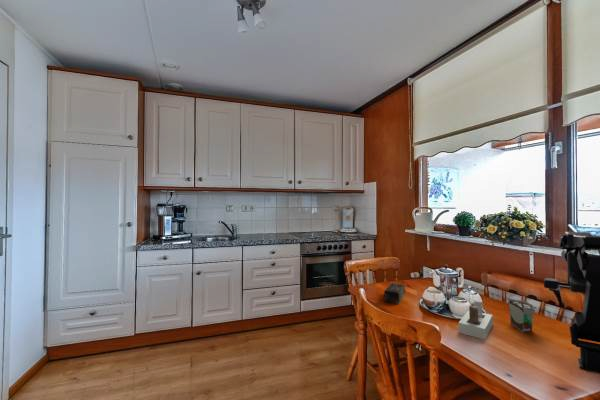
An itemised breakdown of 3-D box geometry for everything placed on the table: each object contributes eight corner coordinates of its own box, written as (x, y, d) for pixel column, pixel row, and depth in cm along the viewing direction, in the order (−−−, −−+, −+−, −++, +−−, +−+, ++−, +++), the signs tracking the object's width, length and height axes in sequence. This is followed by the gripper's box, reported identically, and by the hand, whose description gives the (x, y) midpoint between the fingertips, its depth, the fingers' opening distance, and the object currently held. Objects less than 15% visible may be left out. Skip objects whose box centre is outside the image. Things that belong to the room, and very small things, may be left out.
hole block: (485, 339, 107) (485, 328, 107) (458, 332, 113) (458, 322, 113) (492, 324, 120) (492, 315, 120) (468, 318, 126) (468, 310, 126)
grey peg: (482, 327, 118) (481, 303, 118) (473, 325, 120) (473, 301, 120) (483, 324, 120) (482, 301, 120) (475, 322, 122) (474, 299, 122)
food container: (543, 335, 109) (542, 309, 109) (525, 334, 110) (524, 308, 111) (524, 322, 121) (524, 299, 122) (508, 321, 123) (508, 298, 123)
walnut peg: (479, 332, 113) (478, 307, 113) (477, 334, 111) (477, 309, 111) (470, 329, 115) (470, 305, 115) (469, 332, 113) (468, 307, 113)
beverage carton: (405, 294, 162) (405, 283, 162) (399, 305, 145) (399, 292, 145) (391, 292, 166) (391, 281, 166) (383, 302, 149) (383, 290, 149)
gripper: (543, 267, 100) (544, 311, 100) (621, 275, 88) (623, 326, 87) (543, 262, 108) (545, 303, 108) (616, 269, 96) (617, 315, 96)
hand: (579, 311), depth 100 cm, fingers open, 9 cm apart
